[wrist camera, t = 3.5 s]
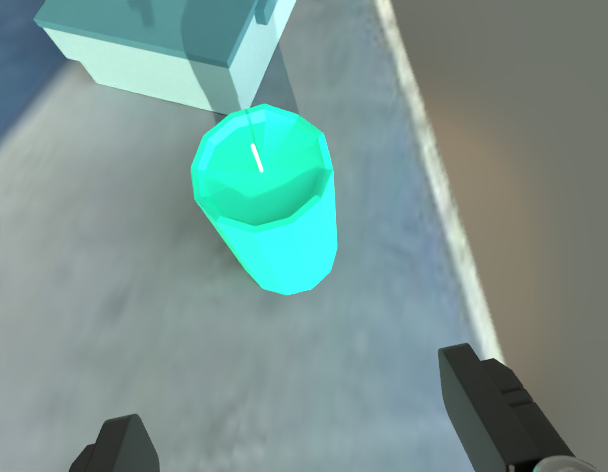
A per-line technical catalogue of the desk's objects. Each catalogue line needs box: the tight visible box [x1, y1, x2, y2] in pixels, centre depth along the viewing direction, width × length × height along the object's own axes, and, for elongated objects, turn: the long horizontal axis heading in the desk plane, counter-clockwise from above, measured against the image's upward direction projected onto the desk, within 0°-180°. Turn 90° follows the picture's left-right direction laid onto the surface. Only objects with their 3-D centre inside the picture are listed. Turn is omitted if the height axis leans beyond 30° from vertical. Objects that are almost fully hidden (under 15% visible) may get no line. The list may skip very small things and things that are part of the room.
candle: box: [191, 104, 337, 295], centre depth 23 cm, size 6×6×12 cm
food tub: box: [33, 0, 296, 115], centre depth 32 cm, size 14×13×6 cm
